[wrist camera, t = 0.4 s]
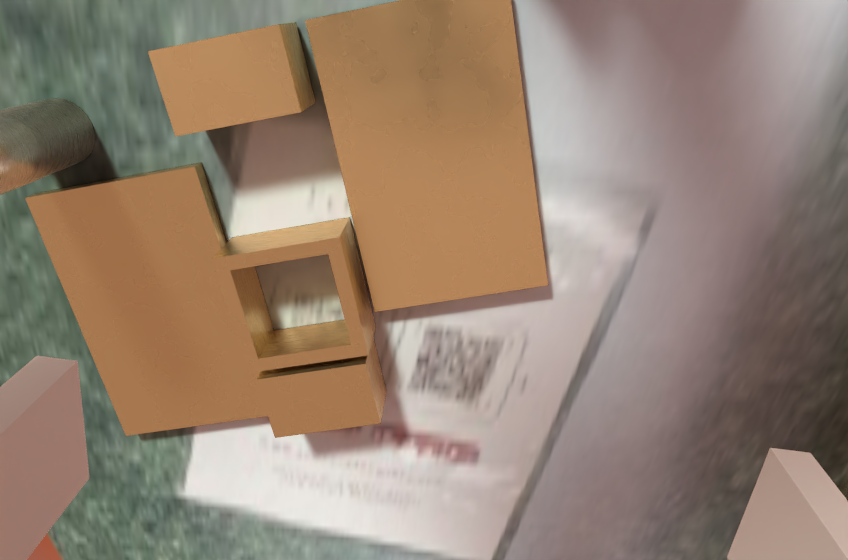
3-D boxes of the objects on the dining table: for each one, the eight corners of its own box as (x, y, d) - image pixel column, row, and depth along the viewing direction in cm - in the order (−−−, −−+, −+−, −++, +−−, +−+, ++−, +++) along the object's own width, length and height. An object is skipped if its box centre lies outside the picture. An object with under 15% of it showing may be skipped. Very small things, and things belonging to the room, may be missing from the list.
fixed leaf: (35, 193, 38) (-4, 210, 35) (330, 138, 36) (317, 151, 33) (133, 426, 44) (107, 460, 40) (391, 390, 42) (385, 422, 39)
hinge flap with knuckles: (177, 47, 34) (147, 51, 31) (506, -22, 32) (512, -25, 29) (262, 322, 40) (245, 350, 37) (545, 278, 38) (554, 303, 35)
